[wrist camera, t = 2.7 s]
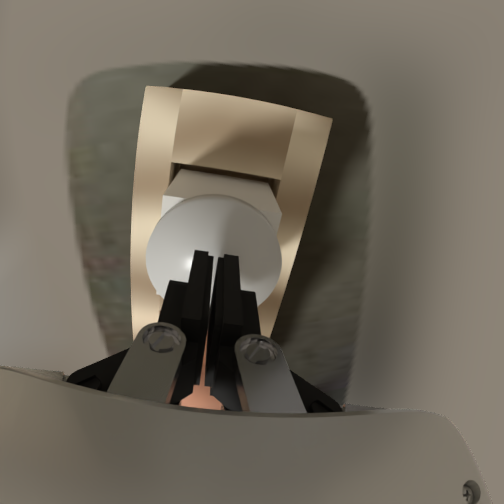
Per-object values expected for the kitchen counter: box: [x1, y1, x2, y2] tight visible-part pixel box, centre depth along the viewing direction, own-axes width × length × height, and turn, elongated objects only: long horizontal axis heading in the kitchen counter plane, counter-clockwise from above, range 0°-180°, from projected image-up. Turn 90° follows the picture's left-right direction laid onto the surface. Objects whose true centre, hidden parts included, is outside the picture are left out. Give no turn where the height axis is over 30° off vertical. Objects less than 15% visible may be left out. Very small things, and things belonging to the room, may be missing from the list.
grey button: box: [146, 169, 282, 307], centre depth 15 cm, size 6×6×6 cm
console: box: [131, 86, 333, 340], centre depth 22 cm, size 24×10×5 cm, turn 169°
